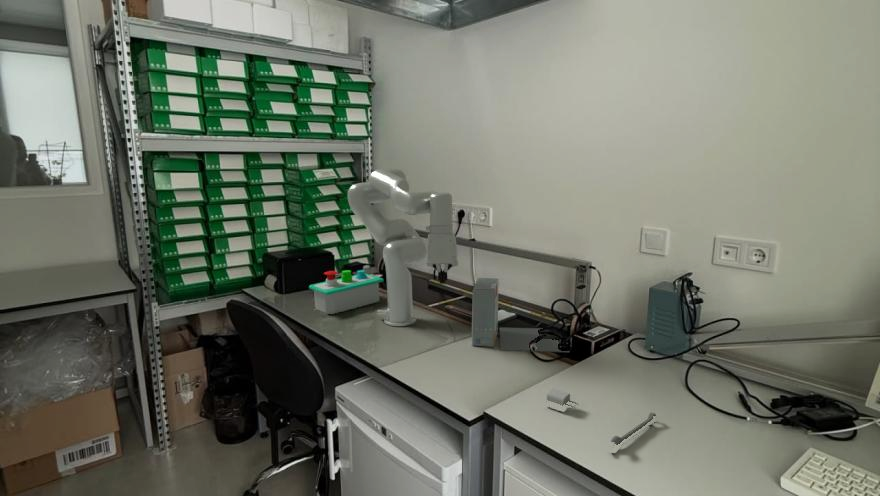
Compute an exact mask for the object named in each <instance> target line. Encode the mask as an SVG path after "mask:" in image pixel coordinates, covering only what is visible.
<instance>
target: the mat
mask: <svg viewBox="0 0 880 496" xmlns="http://www.w3.org/2000/svg"><path fill="white" fill-rule="evenodd" d="M498 327H499V326H498ZM498 329H499V346H500V348H499V349H500V351H505V352H507V351H509V352H510V351H511V352H512V351H513V352H531V351H530V348H529V343H530V342H531V341H532V340H534V339H535V338H537V337H538V336H539V333H538V330H540V329H542V328H540V327H539V328H537V327H535V328H534V327H533V328H532V327H499V328H498ZM558 344H559V341H558V340H555V339H554V340H552V339H542V340H540V341H538V342H537V343H536V346H537V349H536V351H535V352H538V351H539V353H540V352H542V353H545V352H546V353H547V352H548V353H570V350H569V351H561V350H559V349H558Z"/></svg>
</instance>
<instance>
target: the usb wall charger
mask: <svg viewBox="0 0 880 496" xmlns="http://www.w3.org/2000/svg"><path fill="white" fill-rule="evenodd" d="M547 400H548V401H551V402H554V403H557V404H560V405H562V406H563V405H564V404H565V405H568V404H566V403H567V402H568V401H569V402H572V403H575V404H576V405H578V406H579V403H578V402H576V401H572V400H571V393H569V392H565V391H563V390H559V389H556V388H551V389H550V390H549V391H548V392H547V394H546V401H547ZM568 406H571V407H572V408H573V409H574V408H575V407H576V406H574V405H572V404H570V405H568ZM575 409H576V408H575Z"/></svg>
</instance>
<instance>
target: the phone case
mask: <svg viewBox="0 0 880 496" xmlns="http://www.w3.org/2000/svg"><path fill="white" fill-rule="evenodd" d="M517 317H518V316H517V313H515V312H512V311H509V310H506V309H498V325H499V324H503V323H505V322H509V321H510V320H513V319H517Z"/></svg>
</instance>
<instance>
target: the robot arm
mask: <svg viewBox="0 0 880 496" xmlns="http://www.w3.org/2000/svg"><path fill="white" fill-rule="evenodd" d="M389 200H391V203H392V205H393V207H394V208H395V209H396V210H398V211H400V212H402V213H404V214H405V215H410V216H416V215H417V216H418V215H424V214H429V225H427V226H425V230H426V231H429V232H430V233H428V235H427V240H426V243H425V242H424V240H423V239H422V238H421V236H420V234H418V232H417V231H416V230H415V228H413V226H412V225H411V223H410V222H408V221H407V220H405V219H402V218H396V219H390V218H387V217H386V216H385V215H384V213H383V211H381V210H380V209H379V208H378V207H376V206H374V205H372V204H378V203H379V204H380V203H385V202H388V201H389ZM347 201H348V205H349V207H350V209H351V211H352V213H353V214H354V215H355V216H356V218H358V219H359V221H360V222H361V223H362V224H363V225H364V226H365V228H366V229H367V231H368V233H369V234H370V235H371V236H372V238H373V240H375V242H376V243H377V244H378V245H380V246H384V247H383V250H382V257H383V258H382V259H383V262H384V265H385V275H386V277H385V278H386V294H387V295H386V297H387V300H386V301H387V309H385V310H383V309H377V310H376V314H377V316H378V317H383V320H384V324H386V325H388V326H391V327H405V326H410V325H413V324H415V323H416V322H417V320H418V318H417V315H415V314H413V311H414V310H413V285H412V284H413V283H412V274H411V272H410V270H409V269H408V267H407V265H409V264H414V263H419V262H422V261H423V260H424V259H425V258H426V266H428V267H431V268H434V270H435V271H436V272H437V280H438V281H439V283H440V284H446V282H448V271H449V270H450V269H451V268H453V267H458V266H459V262H458V247H457V246H458V245H457V238H456V233H454V230H453V229H454V228H453V225H454V224H453V223H454V222H453V196H452V194H450V193H449V192H436V191H433V190H432V191H431V190H430V191H429V190H428V191H416V192H410V184H409V182H408V180H407V177H406V174H405V173H404V171H402V170H401V169H399V168H379V169H376V170H374V171H372V172H371V173H370V174H369V177H368V181H367V182H359V183H355V184H353V185H351V186H350V187H349V189H348V191H347ZM442 265H443V266H444V268H443V269H442Z"/></svg>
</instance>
